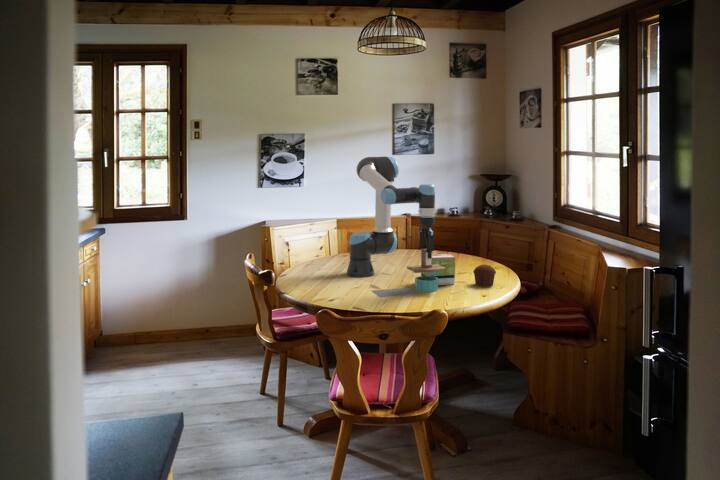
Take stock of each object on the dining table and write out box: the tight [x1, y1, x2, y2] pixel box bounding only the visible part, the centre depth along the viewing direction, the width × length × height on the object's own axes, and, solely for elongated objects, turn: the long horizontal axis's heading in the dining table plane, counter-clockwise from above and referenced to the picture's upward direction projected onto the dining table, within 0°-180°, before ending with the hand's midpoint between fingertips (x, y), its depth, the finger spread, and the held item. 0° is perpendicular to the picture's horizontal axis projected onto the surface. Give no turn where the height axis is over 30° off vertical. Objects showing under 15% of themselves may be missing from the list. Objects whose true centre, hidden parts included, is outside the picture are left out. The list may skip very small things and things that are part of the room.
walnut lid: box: [406, 248, 447, 274], centre depth 294 cm, size 12×16×10 cm
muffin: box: [472, 264, 497, 287], centre depth 307 cm, size 12×11×10 cm
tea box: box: [420, 253, 456, 286], centre depth 310 cm, size 15×10×15 cm
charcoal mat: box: [371, 287, 420, 298], centre depth 292 cm, size 14×20×1 cm
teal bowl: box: [414, 275, 439, 293], centre depth 296 cm, size 11×11×6 cm
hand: (426, 264), depth 295 cm, fingers closed on walnut lid, 4 cm apart
